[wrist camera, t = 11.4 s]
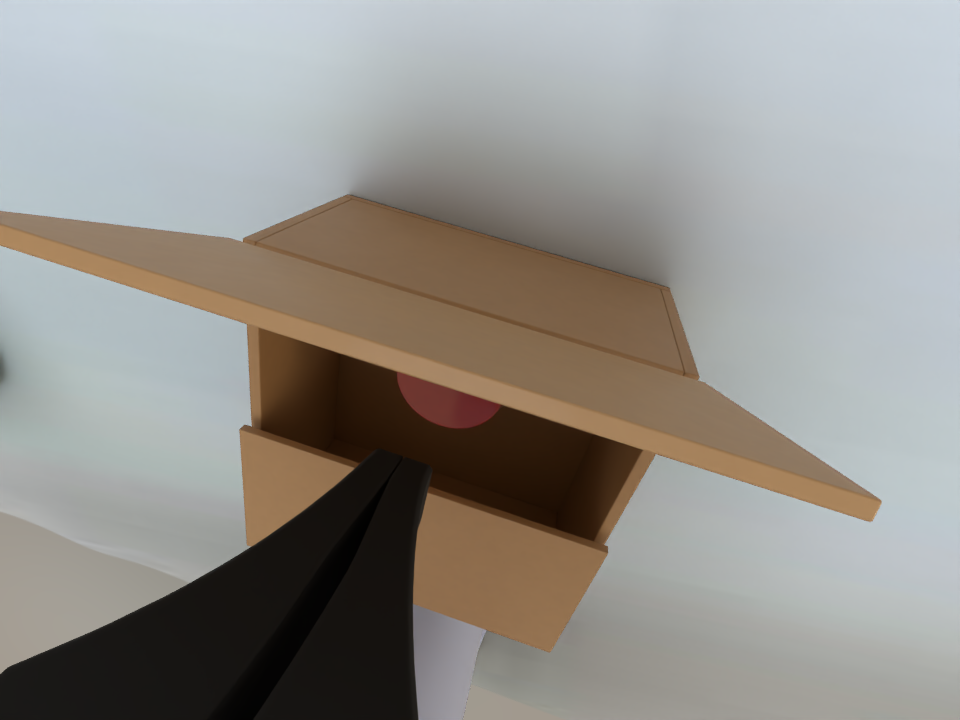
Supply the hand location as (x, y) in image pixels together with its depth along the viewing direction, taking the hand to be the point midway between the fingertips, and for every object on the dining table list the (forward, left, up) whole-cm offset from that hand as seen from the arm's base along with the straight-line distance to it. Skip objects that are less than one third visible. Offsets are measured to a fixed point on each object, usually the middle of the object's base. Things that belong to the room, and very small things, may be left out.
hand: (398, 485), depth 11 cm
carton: (-3, 0, -10) cm, 10 cm away
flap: (+4, 0, 0) cm, 4 cm away
